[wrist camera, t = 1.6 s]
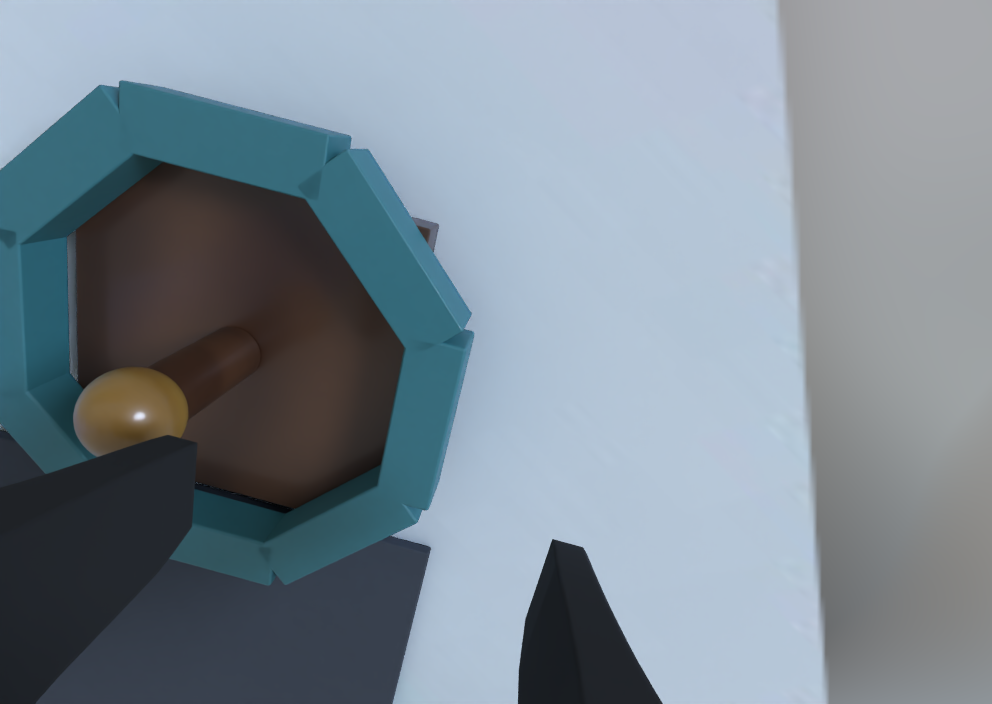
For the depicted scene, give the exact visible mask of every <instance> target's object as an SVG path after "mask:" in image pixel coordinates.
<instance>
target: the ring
mask: <svg viewBox="0 0 992 704" xmlns="http://www.w3.org/2000/svg"><path fill="white" fill-rule="evenodd" d="M350 145H351V136H349V135H345V134H341V133H338V132H334V131H330V130H326V129H322V128H318V127H315V126H311V125H307V124H303V123H299V122H295V121H291V120H288V119H284V118H280V117H276V116H272V115H268V114H265V113H261V112H257V111H253V110H249V109H245V108H242V107H238V106H234V105H230V104H226V103H222V102H218V101H215V100H211V99H207V98H203V97H199V96H195V95H192V94H188V93H184V92H180V91H176V90H172V89H168V88H165V87H159V86H153V85H147V84H141V83H135V82H129V81H120V82H119V87H112V86H105V85H99V86H98V87H97V88H95V89H94V90H93V91H92V92H91V93H90V94H88V95H87V96H86V97H85V98H84V99H83V100H81V101H80V102H79V103H78V104H77V105H76V106H74V107H73V108H72V109H71V110H70V111H69V112H67V113H66V114H65V115H64V116H63V117H62V118H60V119H59V120H58V121H57V122H56V123H55V124H53V125H52V126H51V127H50V128H49V129H48V130H46V131H45V132H44V133H43V134H42V135H41V136H40V137H38V138H37V139H36V140H35V141H34V142H33V143H31V144H30V145H29V146H28V147H27V148H26V149H24V150H23V151H22V152H21V153H20V154H19V155H17V156H16V157H15V158H14V159H13V160H12V161H10V162H9V163H8V164H7V165H6V166H5V167H3V168H2V169H1V170H0V424H1V425H2V426H3V427H4V428H5V429H6V430H7V431H8V433H9V434H10V435H11V436H12V437H13V438H14V439H15V440H16V441H17V443H18V444H19V445H20V446H21V447H22V448H23V449H24V450H25V451H26V453H27V454H28V455H29V456H30V457H31V458H32V459H33V460H34V461H35V463H36V464H37V465H38V466H39V467H40V468H41V469H42V470H43V471H44V473H45V474H48V473H51V472H54V471H57V470H60V469H63V468H66V467H69V466H72V465H75V464H78V463H81V462H84V461H87V460H90V459H93V458H96V456H94V455H93V454H92V453H90V452H89V451H88V450H87V449H86V448H85V447H84V446H83V445H82V444H81V442H80V440H79V439H78V437H77V435H76V432H75V429H74V424H73V413H74V408H75V404H76V402H77V400H78V398H79V396H80V394H81V393H82V391H83V390H84V389H83V388H82V387H81V386H80V384H79V383H78V382H77V381H76V380H75V378H74V377H73V376H72V375H71V374H70V361H69V314H68V266H67V236H68V235H70V234H71V233H72V232H73V231H75V230H76V229H77V228H79V227H80V226H81V225H82V224H84V223H85V222H86V221H88V220H89V219H90V218H91V217H93V216H94V215H95V214H97V213H98V212H99V211H100V210H102V209H103V208H104V207H106V206H107V205H108V204H109V203H111V202H112V201H113V200H115V199H116V198H117V197H118V196H120V195H121V194H122V193H124V192H125V191H126V190H127V189H129V188H130V187H131V186H133V185H134V184H135V183H136V182H138V181H139V180H140V179H142V178H143V177H144V176H145V175H147V174H148V173H149V172H151V171H152V170H153V169H155V168H156V167H157V166H158V165H160V164H161V163H162V162H165V163H169V164H172V165H176V166H180V167H184V168H188V169H191V170H195V171H199V172H203V173H207V174H211V175H214V176H218V177H222V178H226V179H230V180H233V181H237V182H241V183H245V184H249V185H252V186H256V187H260V188H264V189H268V190H271V191H275V192H279V193H283V194H287V195H291V196H294V197H298V198H302V199H305V200H306V201H307V203H308V204H309V206H310V207H311V209H312V210H313V212H314V213H315V215H316V216H317V218H318V219H319V221H320V222H321V224H322V225H323V227H324V228H325V230H326V231H327V233H328V234H329V236H330V237H331V239H332V240H333V242H334V243H335V245H336V246H337V248H338V249H339V251H340V252H341V254H342V255H343V256H344V258H345V259H346V261H347V262H348V264H349V265H350V267H351V268H352V270H353V271H354V273H355V274H356V276H357V277H358V279H359V280H360V282H361V283H362V285H363V286H364V288H365V289H366V291H367V292H368V294H369V295H370V297H371V298H372V300H373V301H374V303H375V304H376V306H377V307H378V309H379V310H380V312H381V313H382V315H383V316H384V318H385V319H386V321H387V322H388V324H389V325H390V327H391V328H392V330H393V331H394V333H395V334H396V336H397V337H398V339H399V340H400V342H401V343H402V345H403V346H404V351H403V356H402V362H401V367H400V372H399V377H398V382H397V387H396V392H395V397H394V402H393V407H392V412H391V417H390V422H389V427H388V432H387V437H386V442H385V447H384V452H383V457H382V462H381V465H379V466H377V467H375V468H373V469H371V470H369V471H368V472H366V473H364V474H362V475H360V476H358V477H356V478H354V479H352V480H350V481H348V482H346V483H344V484H342V485H340V486H338V487H337V488H335V489H333V490H331V491H329V492H327V493H325V494H323V495H321V496H319V497H317V498H315V499H313V500H311V501H309V502H307V503H305V504H304V505H302V506H300V507H298V508H296V509H294V510H292V511H290V512H288V513H286V514H285V513H281V512H278V511H274V510H270V509H267V508H263V507H259V506H256V505H252V504H248V503H244V502H241V501H237V500H233V499H230V498H226V497H222V496H219V495H215V494H211V493H208V492H204V491H200V490H197V489H194V504H193V519H192V528H191V529H190V530H189V532H188V533H187V535H186V536H185V537H184V539H183V540H182V542H181V543H180V544H179V546H178V547H177V549H176V550H175V551H174V553H173V554H172V555H171V557H170V558H169V559H172V560H176V561H180V562H183V563H187V564H191V565H194V566H198V567H201V568H205V569H209V570H212V571H216V572H220V573H223V574H227V575H231V576H234V577H238V578H242V579H245V580H249V581H253V582H256V583H260V584H263V585H267V586H268V585H271V583H272V582H273V580H274V579H275V577H276V576H278V578H279V579H280V580H281V581H282V582H283V584H285V585H287V584H289V583H291V582H293V581H296V580H298V579H300V578H302V577H304V576H306V575H308V574H310V573H312V572H315V571H317V570H319V569H321V568H323V567H325V566H327V565H329V564H331V563H334V562H336V561H338V560H340V559H342V558H344V557H346V556H348V555H350V554H353V553H355V552H357V551H359V550H361V549H363V548H365V547H367V546H369V545H372V544H374V543H376V542H378V541H380V540H382V539H384V538H386V537H388V536H391V535H393V534H395V533H397V532H399V531H401V530H403V529H405V528H407V527H410V526H412V525H414V524H416V523H417V522H418V520H419V517H420V515H421V512H422V510H428V509H429V507H430V504H431V502H432V499H433V496H434V493H435V491H436V488H437V485H438V482H439V479H440V475H441V471H442V466H443V462H444V458H445V454H446V450H447V446H448V442H449V438H450V433H451V429H452V425H453V421H454V417H455V413H456V409H457V404H458V400H459V396H460V392H461V388H462V384H463V380H464V376H465V371H466V367H467V363H468V359H469V355H470V351H471V347H472V343H473V338H474V332H472V331H469V330H465V329H464V328H465V326H466V324H467V322H468V320H469V318H470V317H471V312H470V310H469V309H468V307H467V306H466V304H465V302H464V301H463V299H462V298H461V296H460V294H459V293H458V291H457V290H456V288H455V286H454V285H453V283H452V282H451V280H450V279H449V277H448V275H447V274H446V272H445V271H444V269H443V267H442V266H441V264H440V263H439V261H438V259H437V258H436V256H435V255H434V253H433V251H432V250H431V248H430V247H429V245H428V243H427V242H426V240H425V239H424V237H423V235H422V234H421V232H420V231H419V229H418V227H417V226H416V224H415V223H414V221H413V220H412V218H411V216H410V215H409V213H408V212H407V210H406V208H405V207H404V205H403V204H402V202H401V200H400V199H399V197H398V196H397V194H396V192H395V191H394V189H393V188H392V186H391V184H390V183H389V181H388V180H387V178H386V176H385V175H384V173H383V172H382V170H381V168H380V167H379V165H378V164H377V162H376V161H375V159H374V157H373V156H372V154H371V153H370V151H369V150H368V149H350Z"/></svg>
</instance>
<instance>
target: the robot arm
mask: <svg viewBox="0 0 992 704" xmlns="http://www.w3.org/2000/svg"><path fill="white" fill-rule="evenodd" d="M197 444H198V443H197V442H193V441H189V440H186V439H182V438H178V437H175V436H171V435H165V436H161V437H158V438H154V439H151V440H147V441H144V442H141V443H138V444H135V445H132V446H129V447H126V448H123V449H120V450H117V451H114V452H111V453H108V454H105V455H102V456H99V457H96V458H93V459H90V460H87V461H84V462H81V463H78V464H75V465H72V466H69V467H66V468H63V469H60V470H57V471H54V472H51V473H48V474H45V475H41V476H38V477H35V478H31V479H28V480H25V481H21V482H18V483H15V484H11V485H8V486H4V487H1V488H0V704H35V703H36V702H37V701H38V700H39V699H40V697H41V696H42V695H43V694H44V693H45V692H46V691H47V689H48V688H49V687H50V686H51V685H52V684H53V683H54V682H55V681H56V679H57V678H58V677H59V676H60V675H61V674H62V673H63V672H64V671H65V670H66V669H67V667H68V666H69V665H70V664H71V663H72V662H73V661H74V660H75V659H76V658H77V657H78V656H79V655H80V654H81V653H82V652H83V651H84V650H85V649H86V648H87V647H88V646H89V645H90V644H91V643H92V641H93V640H94V639H95V638H96V637H97V636H98V635H99V634H100V633H101V632H102V631H103V630H104V629H105V628H106V627H107V626H108V625H109V624H110V623H111V622H112V621H113V620H114V619H115V618H116V617H117V615H118V614H119V613H120V612H121V611H122V610H123V609H124V608H125V607H126V606H127V605H128V604H129V603H130V602H131V601H132V600H133V599H134V598H135V597H136V596H137V594H138V593H139V592H140V591H141V590H142V589H143V588H144V587H145V586H146V585H147V584H148V583H149V582H150V581H151V580H152V579H153V577H154V576H155V575H156V574H157V573H158V572H159V571H160V570H161V568H162V567H163V566H164V564H165V563H166V562H167V560H168V559H169V558H170V557H171V555H172V554H173V553H174V551H175V550H176V549H177V547H178V546H179V544H180V543H181V542H182V540H183V539H184V537H185V536H186V535H187V533H188V532H189V530H190V529H191V528H192V519H193V504H194V489H195V474H196V459H197ZM518 704H663V703H662V702H661V700H660V699H659V697H658V695H657V694H656V692H655V690H654V689H653V687H652V685H651V684H650V682H649V680H648V678H647V677H646V675H645V673H644V671H643V670H642V668H641V666H640V664H639V663H638V661H637V659H636V657H635V655H634V653H633V652H632V650H631V648H630V646H629V644H628V642H627V640H626V638H625V636H624V634H623V632H622V630H621V628H620V626H619V624H618V622H617V620H616V618H615V616H614V614H613V612H612V610H611V608H610V606H609V604H608V602H607V599H606V597H605V595H604V593H603V591H602V588H601V586H600V584H599V582H598V579H597V577H596V575H595V572H594V570H593V568H592V565H591V563H590V561H589V558H588V556H587V554H586V552H585V550H584V548H583V547H579V546H576V545H572V544H568V543H565V542H561V541H557V540H554V539H552V542H551V545H550V548H549V551H548V554H547V557H546V560H545V563H544V566H543V569H542V572H541V575H540V578H539V581H538V584H537V587H536V590H535V593H534V596H533V599H532V601H531V604H530V607H529V610H528V613H527V616H526V620H525V627H524V635H523V642H522V650H521V658H520V666H519V686H518Z"/></svg>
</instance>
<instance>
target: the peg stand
mask: <svg viewBox="0 0 992 704" xmlns="http://www.w3.org/2000/svg"><path fill="white" fill-rule="evenodd" d="M411 218H412V220H413V221H414V223H415V224H416V226H417V227H418V229H419V231H420V232H421V234H422V235H423V237H424V239H425V240H426V242H427V243H428V245H429V247H430V248H431V250H432V251H433V252H434V247H435V242H436V237H437V232H438V227H439V225H438V224H437V223H433V222H429V221H425V220H421V219H418V218H414V217H411ZM76 281H77V345H78V383H79V384H80V386H81V387H82V388H83V389H84V390H83V391H82V393H81V394H80V396H79V398H78V400H77V402H76V404H75V408H74V413H73V424H74V429H75V432H76V435H77V437H78V439H79V440H80V442H81V444H82V445H83V446H84V447H85V448H86V449H87V450H88V451H89V452H90V453H92V454H93V455H94V456H96V457H99V456H102V455H105V454H108V453H111V452H114V451H117V450H120V449H123V448H126V447H129V446H132V445H135V444H138V443H141V442H144V441H147V440H151V439H154V438H158V437H161V436H165V435H171V436H175V437H178V438H182V439H186V440H189V441H193V442H197V443H198V444H197V459H196V474H195V482H198V483H202V484H205V485H209V486H213V487H216V488H220V489H224V490H227V491H231V492H235V493H238V494H242V495H246V496H250V497H253V498H257V499H261V500H264V501H268V502H272V503H275V504H279V505H283V506H286V507H290V508H294V509H296V508H298V507H300V506H302V505H304V504H305V503H307V502H309V501H311V500H313V499H315V498H317V497H319V496H321V495H323V494H325V493H327V492H329V491H331V490H333V489H335V488H337V487H338V486H340V485H342V484H344V483H346V482H348V481H350V480H352V479H354V478H356V477H358V476H360V475H362V474H364V473H366V472H368V471H369V470H371V469H373V468H375V467H377V466H379V465H381V462H382V457H383V452H384V447H385V442H386V437H387V432H388V427H389V422H390V417H391V412H392V407H393V402H394V397H395V392H396V387H397V382H398V377H399V372H400V367H401V362H402V356H403V351H404V346H403V345H402V343H401V342H400V340H399V339H398V337H397V336H396V334H395V333H394V331H393V330H392V328H391V327H390V325H389V324H388V322H387V321H386V319H385V318H384V316H383V315H382V313H381V312H380V310H379V309H378V307H377V306H376V304H375V303H374V301H373V300H372V298H371V297H370V295H369V294H368V292H367V291H366V289H365V288H364V286H363V285H362V283H361V282H360V280H359V279H358V277H357V276H356V274H355V273H354V271H353V270H352V268H351V267H350V265H349V264H348V262H347V261H346V259H345V258H344V256H343V255H342V254H341V252H340V251H339V249H338V248H337V246H336V245H335V243H334V242H333V240H332V239H331V237H330V236H329V234H328V233H327V231H326V230H325V228H324V227H323V225H322V224H321V222H320V221H319V219H318V218H317V216H316V215H315V213H314V212H313V210H312V209H311V207H310V206H309V204H308V203H307V201H306V200H305V199H302V198H298V197H294V196H291V195H287V194H283V193H279V192H275V191H271V190H268V189H264V188H260V187H256V186H252V185H249V184H245V183H241V182H237V181H233V180H230V179H226V178H222V177H218V176H214V175H211V174H207V173H203V172H199V171H195V170H191V169H188V168H184V167H180V166H176V165H172V164H169V163H165V162H162V163H161V164H160V165H158V166H157V167H156V168H155V169H153V170H152V171H151V172H149V173H148V174H147V175H145V176H144V177H143V178H142V179H140V180H139V181H138V182H136V183H135V184H134V185H133V186H131V187H130V188H129V189H127V190H126V191H125V192H124V193H122V194H121V195H120V196H118V197H117V198H116V199H115V200H113V201H112V202H111V203H109V204H108V205H107V206H106V207H104V208H103V209H102V210H100V211H99V212H98V213H97V214H95V215H94V216H93V217H91V218H90V219H89V220H88V221H86V222H85V223H84V224H82V225H81V226H80V227H79V228H77V229H76Z"/></svg>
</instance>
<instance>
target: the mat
mask: <svg viewBox="0 0 992 704" xmlns="http://www.w3.org/2000/svg"><path fill="white" fill-rule="evenodd" d="M41 475H45V473H44V471H43V470H42V469H41V468H40V467H39V466H38V465H37V464H36V463H35V461H34V460H33V459H32V458H31V457H30V456H29V455H28V454H27V453H26V451H25V450H24V449H23V448H22V447H21V446H20V445H19V444H18V443H17V441H16V440H15V439H14V438H13V437H12V436H11V435H10V434H9V433H8V432H4V431H1V430H0V488H1V487H4V486H8V485H11V484H15V483H18V482H21V481H25V480H28V479H31V478H35V477H38V476H41ZM195 489H197V490H200V491H204V492H208V493H211V494H215V495H219V496H222V497H226V498H230V499H233V500H237V501H241V502H244V503H248V504H252V505H256V506H259V507H263V508H267V509H270V510H274V511H278V512H281V513H285V514H286V513H288V512H290V511H292V509H288V508H284V507H280V506H277V505H273V504H269V503H266V502H262V501H258V500H255V499H251V498H247V497H244V496H240V495H236V494H233V493H229V492H225V491H222V490H218V489H214V488H211V487H207V486H203V485H200V484H196V483H195ZM430 550H431V548H430V547H428V546H424V545H420V544H417V543H413V542H409V541H406V540H402V539H398V538H395V537H391V536H388V537H386V538H384V539H382V540H380V541H378V542H376V543H374V544H372V545H369V546H367V547H365V548H363V549H361V550H359V551H357V552H355V553H353V554H350V555H348V556H346V557H344V558H342V559H340V560H338V561H336V562H334V563H331V564H329V565H327V566H325V567H323V568H321V569H319V570H317V571H315V572H312V573H310V574H308V575H306V576H304V577H302V578H300V579H298V580H296V581H293V582H291V583H289V584H287V585H285V584H283V582H282V581H281V580H280V579H279V578H278V576H276V577H275V579H274V580H273V582H272V583H271V585H268V586H267V585H263V584H260V583H256V582H253V581H249V580H245V579H242V578H238V577H234V576H231V575H227V574H223V573H220V572H216V571H212V570H209V569H205V568H201V567H198V566H194V565H191V564H187V563H183V562H180V561H176V560H172V559H168V560H167V562H166V563H165V564H164V566H163V567H162V568H161V570H160V571H159V572H158V573H157V574H156V575H155V576H154V577H153V579H152V580H151V581H150V582H149V583H148V584H147V585H146V586H145V587H144V588H143V589H142V590H141V591H140V592H139V593H138V594H137V596H136V597H135V598H134V599H133V600H132V601H131V602H130V603H129V604H128V605H127V606H126V607H125V608H124V609H123V610H122V611H121V612H120V613H119V614H118V615H117V617H116V618H115V619H114V620H113V621H112V622H111V623H110V624H109V625H108V626H107V627H106V628H105V629H104V630H103V631H102V632H101V633H100V634H99V635H98V636H97V637H96V638H95V639H94V640H93V641H92V643H91V644H90V645H89V646H88V647H87V648H86V649H85V650H84V651H83V652H82V653H81V654H80V655H79V656H78V657H77V658H76V659H75V660H74V661H73V662H72V663H71V664H70V665H69V666H68V667H67V669H66V670H65V671H64V672H63V673H62V674H61V675H60V676H59V677H58V678H57V679H56V681H55V682H54V683H53V684H52V685H51V686H50V687H49V688H48V689H47V691H46V692H45V693H44V694H43V695H42V696H41V697H40V699H39V700H38V701H37V702H36V703H35V704H392V703H393V699H394V695H395V691H396V687H397V683H398V679H399V675H400V671H401V667H402V663H403V659H404V655H405V651H406V646H407V642H408V638H409V634H410V630H411V626H412V622H413V618H414V614H415V610H416V606H417V602H418V598H419V594H420V590H421V586H422V582H423V578H424V574H425V570H426V566H427V562H428V558H429V554H430Z"/></svg>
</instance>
